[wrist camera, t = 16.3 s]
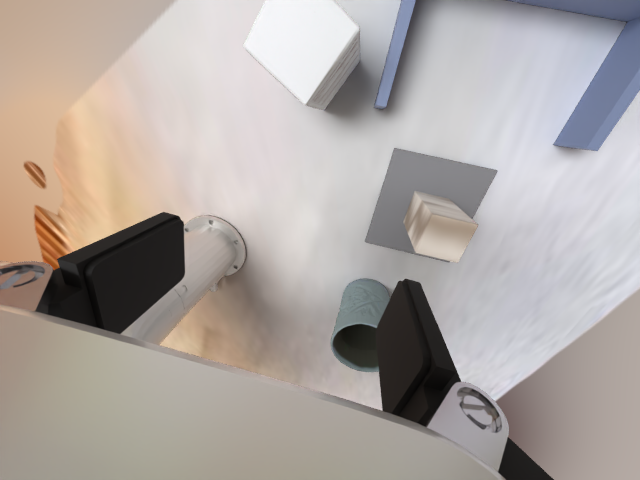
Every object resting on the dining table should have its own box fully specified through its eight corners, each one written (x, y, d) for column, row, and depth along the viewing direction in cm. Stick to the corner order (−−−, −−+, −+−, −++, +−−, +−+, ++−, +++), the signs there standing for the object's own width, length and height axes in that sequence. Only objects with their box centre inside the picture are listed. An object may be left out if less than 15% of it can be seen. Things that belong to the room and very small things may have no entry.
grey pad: (448, 260, 40) (449, 262, 39) (365, 240, 40) (365, 242, 40) (495, 170, 33) (497, 170, 32) (394, 148, 33) (394, 148, 33)
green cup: (394, 315, 46) (403, 373, 36) (343, 318, 49) (337, 373, 38) (388, 271, 42) (397, 322, 32) (333, 277, 45) (323, 325, 34)
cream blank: (435, 229, 37) (457, 263, 28) (403, 221, 37) (415, 252, 28) (448, 198, 35) (478, 225, 26) (414, 191, 35) (432, 214, 26)
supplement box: (282, 71, 32) (238, 44, 20) (318, 13, 28) (289, -58, 17) (324, 112, 33) (304, 108, 22) (362, 61, 30) (362, 24, 19)
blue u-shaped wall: (563, 146, 30) (624, 154, 23) (373, 107, 32) (377, 103, 25) (649, 8, 24) (769, -39, 17) (409, -33, 25) (427, -93, 18)
